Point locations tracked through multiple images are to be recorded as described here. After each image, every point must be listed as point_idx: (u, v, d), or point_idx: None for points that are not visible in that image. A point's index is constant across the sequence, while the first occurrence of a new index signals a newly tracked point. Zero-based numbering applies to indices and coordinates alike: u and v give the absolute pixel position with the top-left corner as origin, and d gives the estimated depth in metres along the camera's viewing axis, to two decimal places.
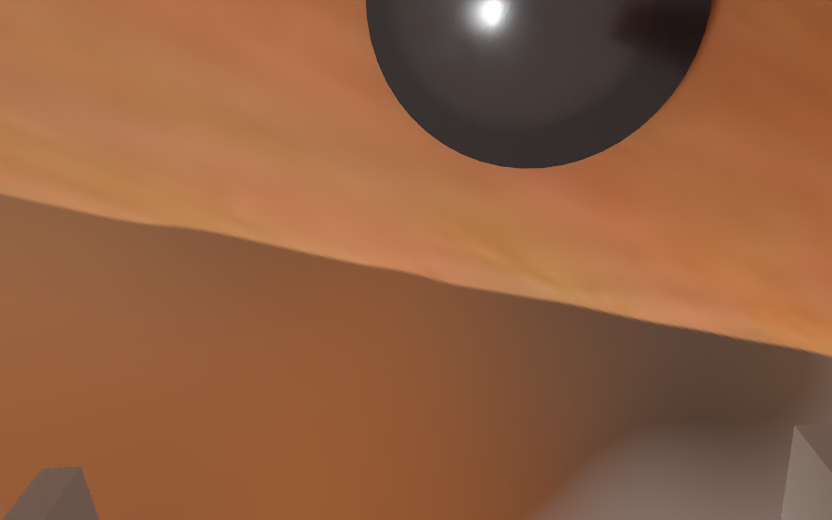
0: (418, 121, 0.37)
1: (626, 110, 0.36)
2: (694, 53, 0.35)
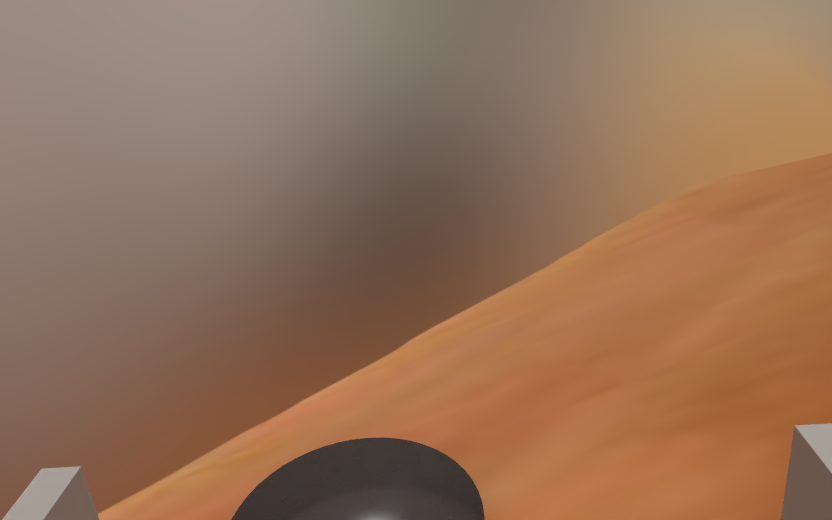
0: (347, 441, 0.53)
1: None
2: None
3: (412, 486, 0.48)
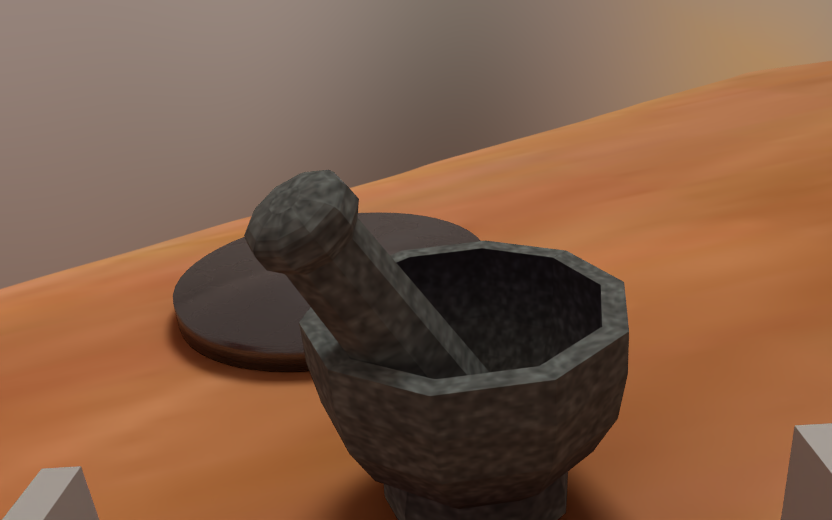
0: None
1: (201, 276, 0.39)
2: (179, 311, 0.35)
3: (406, 241, 0.41)
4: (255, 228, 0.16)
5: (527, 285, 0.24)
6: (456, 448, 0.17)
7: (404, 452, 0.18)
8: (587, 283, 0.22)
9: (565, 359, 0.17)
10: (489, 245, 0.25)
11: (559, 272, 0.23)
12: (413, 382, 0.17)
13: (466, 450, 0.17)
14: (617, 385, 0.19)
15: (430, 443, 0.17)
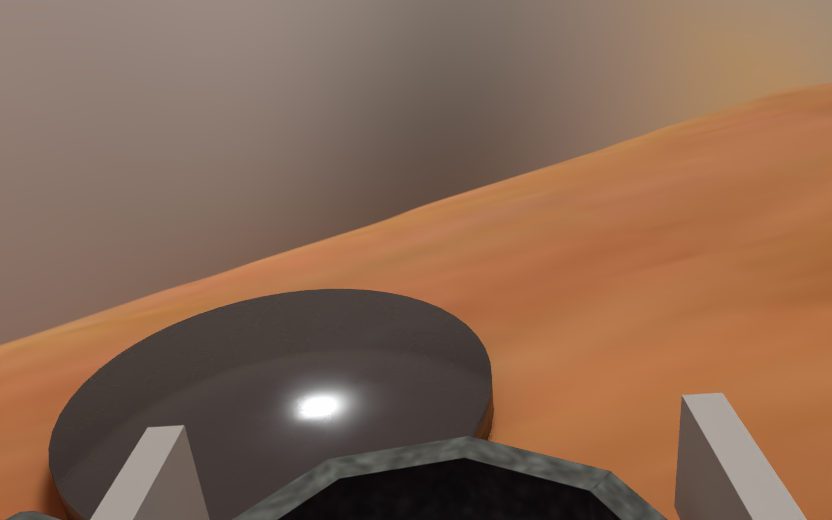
0: (297, 292, 0.36)
1: (99, 396, 0.28)
2: (52, 464, 0.24)
3: (382, 341, 0.30)
4: None
5: None
6: None
7: None
8: None
9: None
10: (475, 451, 0.15)
11: None
12: None
13: None
14: None
15: None
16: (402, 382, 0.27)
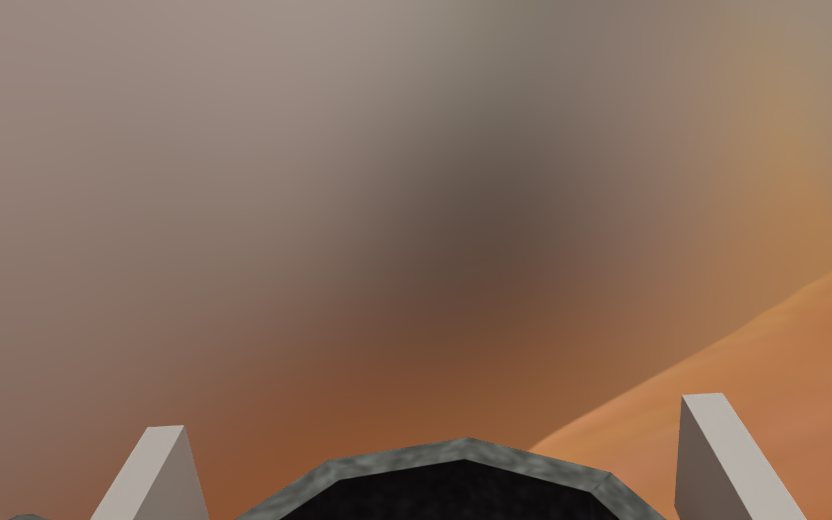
0: None
1: None
2: None
3: None
4: None
5: None
6: None
7: None
8: None
9: None
10: (475, 452, 0.15)
11: None
12: None
13: None
14: None
15: None
16: None
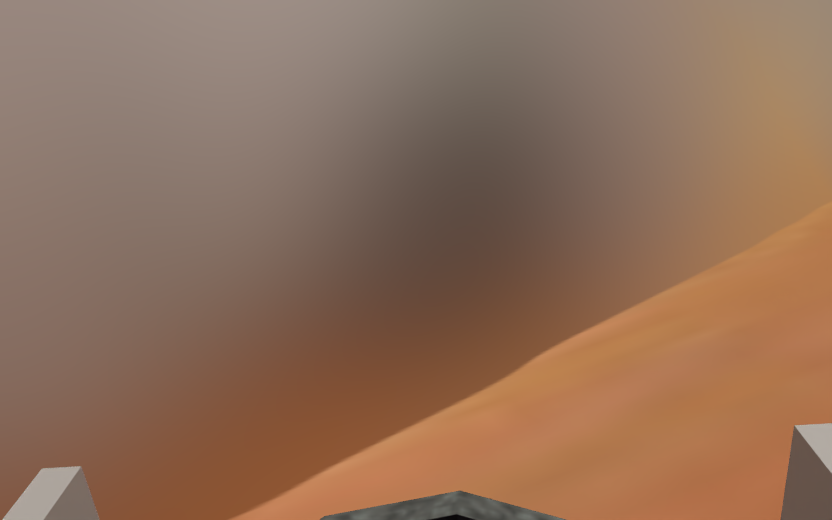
0: None
1: None
2: None
3: None
4: None
5: None
6: None
7: None
8: None
9: None
10: (467, 507, 0.15)
11: None
12: None
13: None
14: None
15: None
16: None
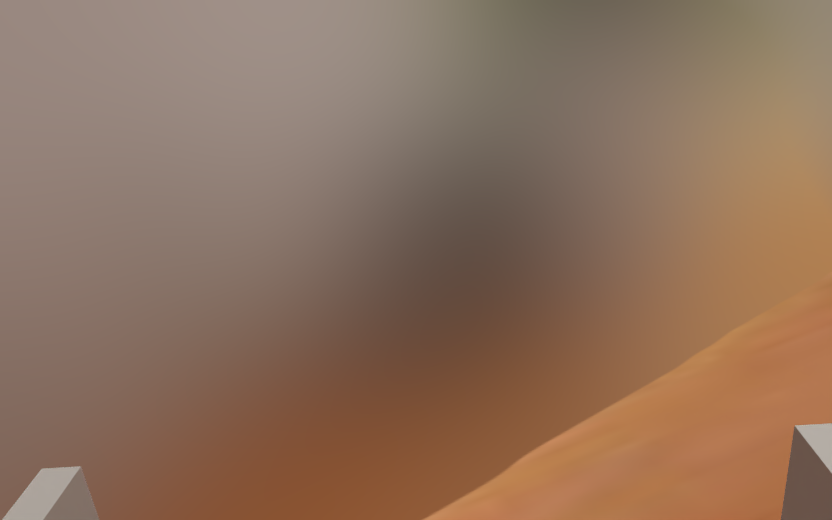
0: None
1: None
2: None
3: None
4: None
5: None
6: None
7: None
8: None
9: None
10: None
11: None
12: None
13: None
14: None
15: None
16: None
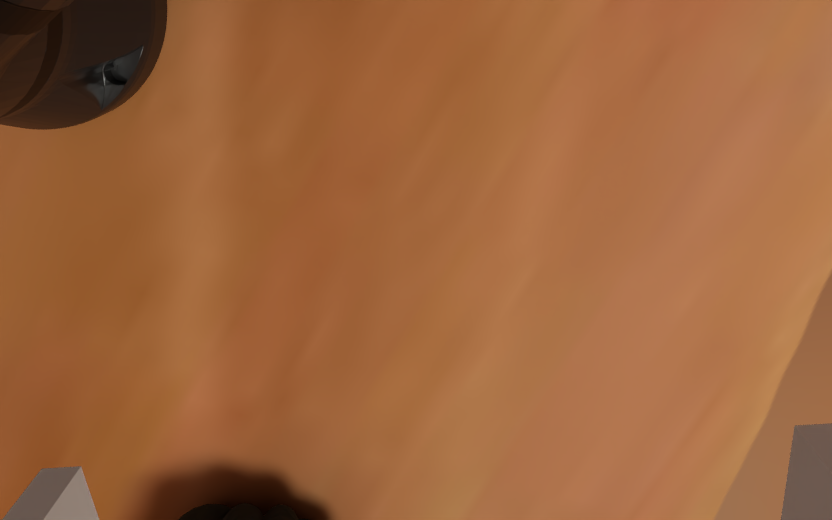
0: None
1: None
2: None
3: None
4: None
5: None
6: None
7: None
8: None
9: None
10: None
11: None
12: None
13: None
14: None
15: None
16: None
